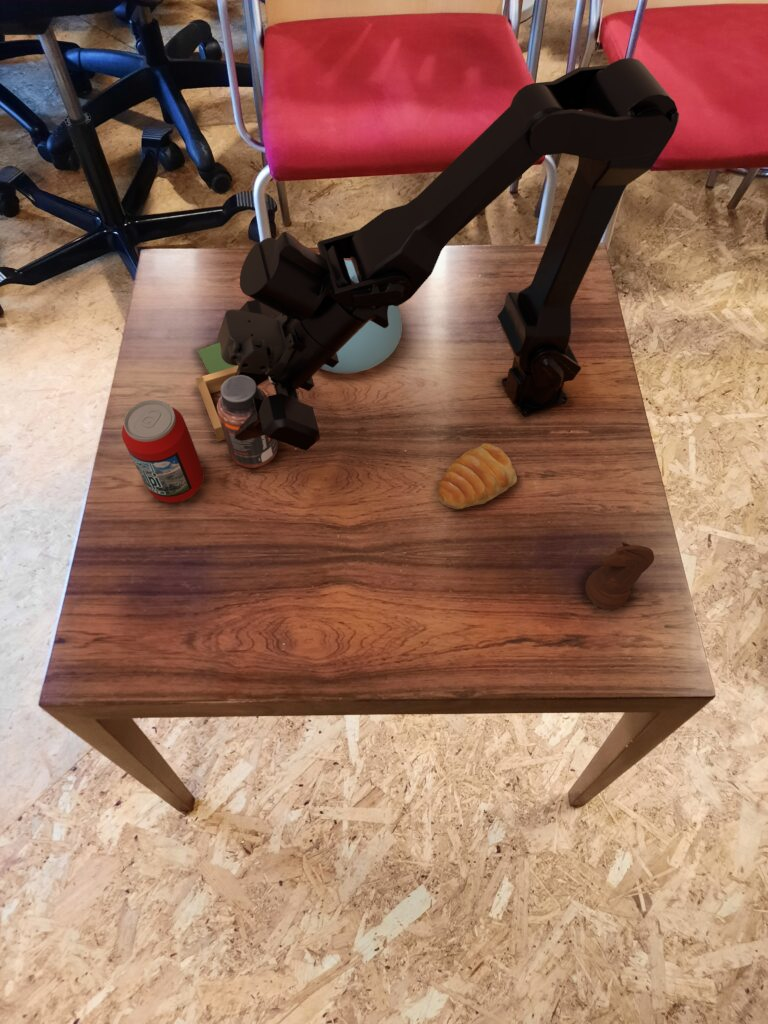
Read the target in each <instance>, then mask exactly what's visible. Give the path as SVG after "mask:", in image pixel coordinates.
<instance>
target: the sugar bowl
mask: <svg viewBox="0 0 768 1024" xmlns="http://www.w3.org/2000/svg"><path fill="white" fill-rule="evenodd" d="M344 261H345V264H346V267H347V270H348V273H349V276H350V279H351V280H352V281H354V282H356V283H359V281H358V278H357V275H356V272H355V269H354V266H353V264H352V261H351V260H344ZM388 322H389V326H388V327H387V328H383V327H381V326H379V325H377V324H376V323H374V322H372V321H368V322H367V323H366V324H365V325H364V326H363V327H362V328H361V329H360V330H359V331H358V332H357V333H356V334H355V335H354V336H353V337H352V338H351V339H350V340H349V341H348V342H347V343H346V344H345V345H344V346H343V347H342V348H341V349H340V350H339V351H338V352H337V353H336V354H337V357H338V360H339V363H338V364H337V365H335V366H334V367H333V368H332V367H330V366H328V365H326V364H324V365H323V366H322V367H321V368H320V369H319V370H323V371H325V372H329V373H335V374H344V375H347V374H348V375H349V374H357V373H361V372H364V371H367V370H370V369H372V368H374V367H376V366H378V365H380V364H381V363H383V362H384V361H386V360H387V359H388V358H389V357H390V356H392V354H393V353H394V351H395V350H396V348H397V347H398V345H399V343H400V340H401V337H402V333H403V331H402V330H403V322H402V315H401V310H400V307H399V305H398V306H394V305H391V306H389V307H388Z"/></svg>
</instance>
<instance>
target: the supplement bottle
mask: <svg viewBox="0 0 768 1024" xmlns="http://www.w3.org/2000/svg"><path fill="white" fill-rule="evenodd" d="M220 394H221V395H220V397H219V398H218V400H217V403H216V412H217V414H218V417H219V420H220V423H221V426H222V430H223V433H224V436H225V439H224V440H225V442H226V446H227V449H228V452H229V454H230V457H231V458H232V460H233V461H234V463H236V464H237V465H239V466H240V467H244V468H249V469H255V468H259V467H263V466H265V465H267V464H269V463H270V462H271V461H272V460H274V458H275V457H276V455H277V453H278V450H279V449H278V448H279V444H278V443H279V441H277V440H275V439H272V438H269V437H268V436H267V435H264V436H260V437H256V438H252V439H248V440H244V441H240V440H237V439H235V437H234V435H235V434H236V432H237V431H238V429H239V428H240V427H241V425H242V424H243V423H244V422H245V421H246V419H247V418H248V417H249V416H250V415H251V413H252V412H253V411H254V410H255V407H254V402H253V397H256V398H258V399H261V400H263V401H264V400H265V399H266V398H267V397H268V395H267V394H266V392H265V391H264V390H263V389H261V388H260V387H258V386H257V385H256V383H255V381H254V380H253V379H252V378H250V377H248V376H244V375H238V376H233V377H230V378H229V379H227V380H226V381H225V382H224V383H223V384H222V386H221V391H220Z"/></svg>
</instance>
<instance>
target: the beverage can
mask: <svg viewBox="0 0 768 1024" xmlns="http://www.w3.org/2000/svg"><path fill="white" fill-rule="evenodd" d="M121 438H122V441H123V443H124V445H125V447H126V449H127V451H128V453H129V455H130V457H131V460H132V461H133V463H134V465H135V467H136V469H137V471H138V473H139V475H140V477H141V479H142V480H143V483H144V485H145V487H146V488H147V490H148V492H149V494H150V495H151V496H152V497H154V499H157V500H158V501H160V502H165V503H179V502H182V501H185V500H187V499H190V498H191V497H192V496H193V495H195V494H196V493H197V492H198V491H199V490H200V488H201V486H202V484H203V482H204V470H203V467H202V464H201V461H200V458H199V455H198V451H197V450H196V447H195V443H194V442H193V439H192V436H191V433H190V430H189V428H188V426H187V423H186V421H185V419H184V417H183V414H182V413H181V412H180V411H179V410H177V409H176V408H175V407H172V406H171V405H170V404H169V403H167V402H166V401H164V400H161V399H146V400H143V401H140V402H138V403H136V404H135V405H133V406H132V407H131V408H129V409H128V411H127V413H125V416H124V418H123V425H122V429H121Z"/></svg>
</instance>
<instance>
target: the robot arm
mask: <svg viewBox="0 0 768 1024" xmlns="http://www.w3.org/2000/svg"><path fill="white" fill-rule="evenodd" d="M679 118H680V113H679V111H678V107H677V104H676V102H675V100H674V99H673V98H672V97H671V95H670V94H669V93H668V92H667V91H666V89H665V88H664V87H663V86H662V85H661V84H660V81H658V79H657V78H656V77H655V76H654V75H653V74H652V73H651V71H650V70H649V68H647V66H646V64H644V63H643V61H641V60H639V59H637V58H634V57H625V58H620V59H618V60H616V61H613V62H611V63H610V64H602V65H594V66H593V65H592V66H591V65H590V66H582V67H581V66H580V67H577V68H576V67H575V68H574V69H571V70H570V71H569V72H566V73H564V74H563V75H561V76H560V77H557V78H556V79H554V80H551V81H541V82H533V83H530V84H526V85H524V86H523V87H522V88H520V89H518V91H517V92H516V93H515V95H514V96H513V98H512V100H511V103H510V105H509V107H508V108H507V109H505V110H504V111H503V112H502V114H500V115H499V116H498V117H497V118H496V119H495V120H494V121H493V122H492V123H491V124H490V125H489V126H488V127H487V128H486V129H485V130H483V132H482V133H481V134H480V135H478V137H476V138H475V140H473V142H472V143H471V144H469V146H467V147H466V148H465V149H464V150H463V151H462V152H461V153H460V154H459V155H458V156H457V157H456V158H455V159H454V160H453V161H452V162H451V163H450V164H449V165H447V167H446V168H445V169H443V171H442V172H441V173H440V174H439V175H437V176H436V177H435V178H434V180H432V181H431V182H430V183H429V184H428V185H427V186H426V187H425V188H424V189H423V190H422V191H421V192H420V193H419V194H418V195H417V196H416V197H414V198H413V199H412V200H410V201H409V202H407V203H406V204H403V205H399V206H395V207H391V208H387V209H385V210H383V211H382V212H381V213H379V214H378V215H376V216H375V217H374V218H372V219H371V220H369V222H367V223H366V224H364V225H363V226H361V227H360V228H359V229H356V230H353V231H350V232H349V231H348V232H346V233H342V234H339V235H336V236H333V237H329V238H325V239H322V240H319V241H317V243H316V245H317V246H316V247H317V249H318V252H319V254H318V253H317V252H316V251H313V250H312V249H311V248H309V247H307V246H305V245H304V244H302V243H301V242H300V241H299V240H298V239H297V238H296V237H295V236H293V235H292V234H290V233H288V232H287V231H282V232H281V233H280V235H279V236H278V237H277V238H274V237H267V238H264V239H262V240H261V241H260V242H259V241H258V242H255V244H254V245H253V246H252V247H251V249H250V250H249V251H248V253H247V255H246V256H245V259H244V261H243V263H242V266H241V269H240V274H239V288H240V290H241V292H242V294H244V295H246V296H247V297H249V298H251V299H253V300H247V301H246V302H245V303H244V304H243V305H242V306H241V307H240V309H239V310H238V309H228V310H226V311H225V313H224V316H223V319H222V322H221V325H220V328H219V332H218V334H217V340H218V342H220V347H221V356H222V359H223V360H224V361H225V362H226V363H228V364H230V365H238V369H237V371H236V373H235V376H238V375H244V376H248V377H250V378H252V379H253V380H254V381H255V383H256V385H257V387H258V386H259V385H261V384H263V382H265V381H267V380H268V382H269V384H270V385H273V386H274V391H275V394H270V395H267V398H266V399H265V400H264V401H263V400H261V399H258V398H256V397H253V402H254V407H255V410H254V411H253V412H252V413H251V415H250V416H249V417H248V418H247V419H246V421H245V422H244V423H243V424H242V425H241V427H240V428H239V429H238V431H237V432H236V434H235V435H234V437H235V439H237V440H240V441H244V440H248V439H252V438H256V437H260V436H264V435H267V436H268V437H269V438H272V439H275V440H277V442H281V443H283V444H286V445H288V446H291V447H293V448H297V449H299V450H302V451H305V452H307V451H308V450H309V449H310V448H312V447H313V446H314V445H315V444H317V442H318V441H320V439H321V435H320V429H319V425H318V422H317V421H318V420H317V418H316V414H315V410H314V406H311V405H309V404H307V403H305V402H302V401H300V399H299V393H298V389H299V388H300V389H302V390H304V391H306V392H311V390H312V389H313V388H314V387H315V383H314V380H313V376H314V375H316V373H318V371H320V370H321V369H320V368H321V367H322V366H323V365H324V364H326V365H328V366H330V367H332V368H333V367H334V366H335V365H337V364H338V363H339V360H338V357H337V354H336V353H337V352H338V351H339V350H340V349H341V348H342V347H343V346H344V345H345V344H346V343H347V342H348V341H349V340H350V339H351V338H352V337H353V336H354V335H355V334H356V333H357V332H358V331H359V330H360V329H361V328H362V327H363V326H364V325H365V324H366V323H367V322H368V321H372V322H374V323H376V324H377V325H379V326H381V327H383V328H387V327H388V326H389V322H388V307H389V306H391V305H394V306H398V307H399V306H400V305H403V304H404V303H407V301H409V300H410V299H412V297H413V296H414V295H415V294H416V293H417V292H418V290H419V289H420V288H421V287H422V285H423V284H425V282H426V281H427V280H428V279H429V278H430V277H431V275H432V274H433V273H434V269H435V267H436V265H437V262H438V260H439V258H440V255H441V253H442V251H443V250H444V248H445V247H446V246H447V244H448V243H449V242H450V241H451V240H452V239H453V238H454V237H455V236H456V235H458V234H459V232H461V231H462V230H463V229H464V228H465V227H467V226H468V224H470V223H471V222H472V221H473V220H474V219H475V218H476V217H477V216H479V214H481V213H482V212H483V211H484V210H485V209H486V208H487V207H489V206H490V205H491V204H492V203H493V202H494V201H495V200H497V198H498V197H500V196H501V195H502V194H503V193H504V192H505V191H506V190H507V189H508V188H509V187H510V186H511V185H512V184H514V183H515V182H516V181H517V180H518V179H519V178H520V177H521V176H522V175H524V174H525V173H526V172H527V171H528V170H529V169H531V167H533V166H534V165H535V164H536V163H537V162H539V160H540V159H541V158H543V157H544V156H551V155H560V154H565V155H570V156H575V157H578V163H577V166H576V170H575V172H574V175H573V178H572V179H571V182H570V185H569V188H568V190H567V193H566V195H565V198H564V200H563V203H562V205H561V208H560V210H559V213H558V215H557V218H556V221H555V223H554V226H553V227H552V229H551V233H550V236H549V238H548V241H547V243H546V245H545V249H544V251H543V253H542V255H541V259H540V261H539V264H538V266H537V268H536V271H535V274H534V276H533V278H532V281H531V283H530V284H529V285H528V286H526V287H525V288H523V289H521V290H520V291H519V292H510V291H509V292H507V294H506V295H505V301H504V305H503V306H502V309H501V311H500V312H499V313H498V314H497V319H498V321H499V323H500V328H501V330H502V333H503V334H504V337H505V339H506V341H507V343H508V346H509V347H510V350H511V352H512V354H513V356H514V357H513V360H512V364H511V367H510V368H509V369H508V372H507V376H506V377H503V378H502V379H501V381H500V383H501V385H502V387H503V388H504V392H505V393H506V395H507V397H508V399H510V401H511V403H512V404H513V405H515V407H516V408H517V410H518V411H519V413H520V415H521V416H522V417H524V418H525V417H530V416H533V415H536V414H539V413H541V412H545V411H547V410H550V409H553V408H556V407H559V406H562V405H565V404H567V403H568V401H569V398H568V396H567V394H566V393H565V392H564V390H563V387H564V385H565V383H567V382H572V381H574V380H575V378H576V377H577V376H578V374H579V373H580V372H581V370H582V367H581V365H580V363H579V362H578V359H577V358H576V355H575V354H574V352H573V349H572V348H571V346H570V340H571V336H572V305H573V302H574V300H575V298H576V295H577V293H578V291H579V289H580V287H581V284H582V282H583V280H584V278H585V276H586V273H587V271H588V269H589V267H590V265H591V263H592V261H593V258H594V256H595V254H596V251H597V250H598V248H599V245H600V243H601V241H602V239H603V237H604V235H605V233H606V231H607V228H608V226H609V224H610V222H611V220H612V218H613V216H614V213H615V211H616V209H617V207H618V204H619V202H620V201H621V198H622V196H623V194H624V192H625V190H626V188H627V186H628V185H630V184H632V182H634V181H636V180H637V179H638V178H640V177H641V176H642V175H644V174H645V173H647V172H648V171H650V170H651V169H652V168H653V166H655V163H656V162H657V160H658V159H659V157H660V156H661V154H662V153H663V151H664V149H665V148H666V146H667V145H668V143H669V141H670V140H671V138H673V135H674V134H675V132H676V130H677V126H678V123H679V120H680V119H679ZM345 259H350V261H352V264H353V266H354V269H355V272H356V275H357V278H358V281H359V283H356V282H354V281H352V280H351V279H350V276H349V273H348V270H347V267H346V264H345V261H346V260H345Z"/></svg>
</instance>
